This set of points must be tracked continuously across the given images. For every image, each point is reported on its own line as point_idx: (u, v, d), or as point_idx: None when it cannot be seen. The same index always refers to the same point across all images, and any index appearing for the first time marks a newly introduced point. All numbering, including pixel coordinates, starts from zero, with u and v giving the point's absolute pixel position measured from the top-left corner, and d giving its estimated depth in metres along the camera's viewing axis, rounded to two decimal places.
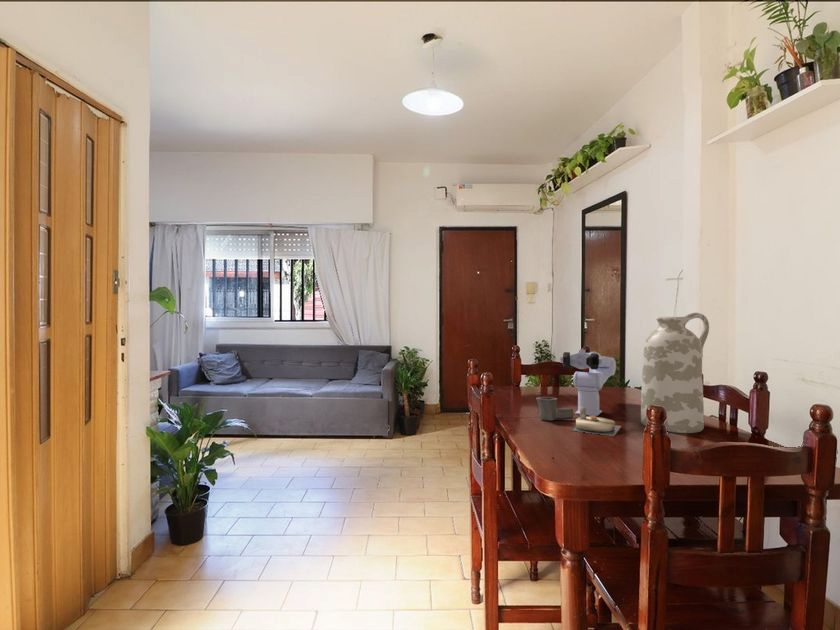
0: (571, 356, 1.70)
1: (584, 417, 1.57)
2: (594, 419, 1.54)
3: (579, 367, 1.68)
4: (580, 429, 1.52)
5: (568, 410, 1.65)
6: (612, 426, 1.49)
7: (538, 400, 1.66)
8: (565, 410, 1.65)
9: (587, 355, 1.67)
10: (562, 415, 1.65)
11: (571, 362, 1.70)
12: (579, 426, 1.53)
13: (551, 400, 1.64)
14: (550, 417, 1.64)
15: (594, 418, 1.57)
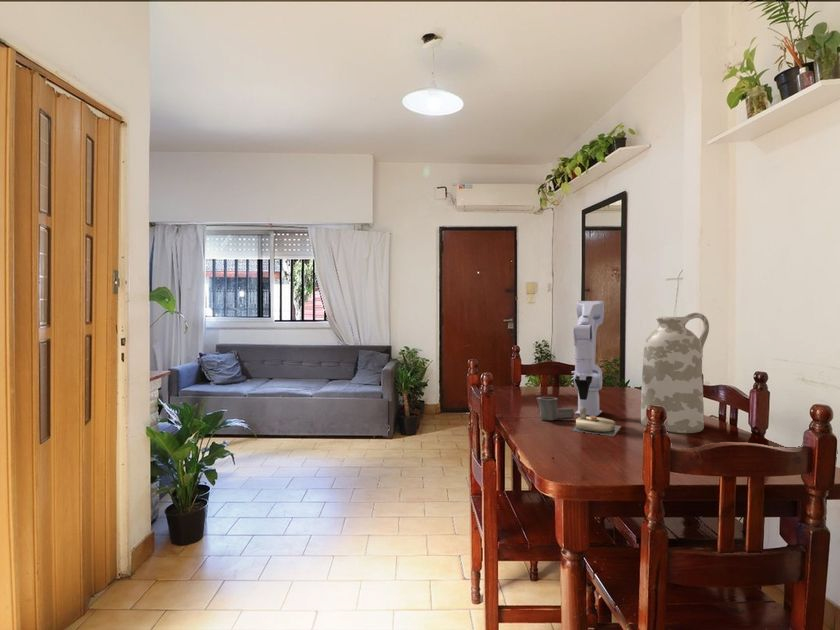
0: None
1: (584, 417, 1.57)
2: (594, 419, 1.54)
3: None
4: (580, 429, 1.52)
5: (568, 410, 1.65)
6: (612, 426, 1.49)
7: (538, 400, 1.66)
8: (565, 410, 1.66)
9: None
10: (563, 415, 1.65)
11: None
12: (579, 426, 1.53)
13: (551, 400, 1.64)
14: (551, 417, 1.64)
15: (594, 418, 1.57)
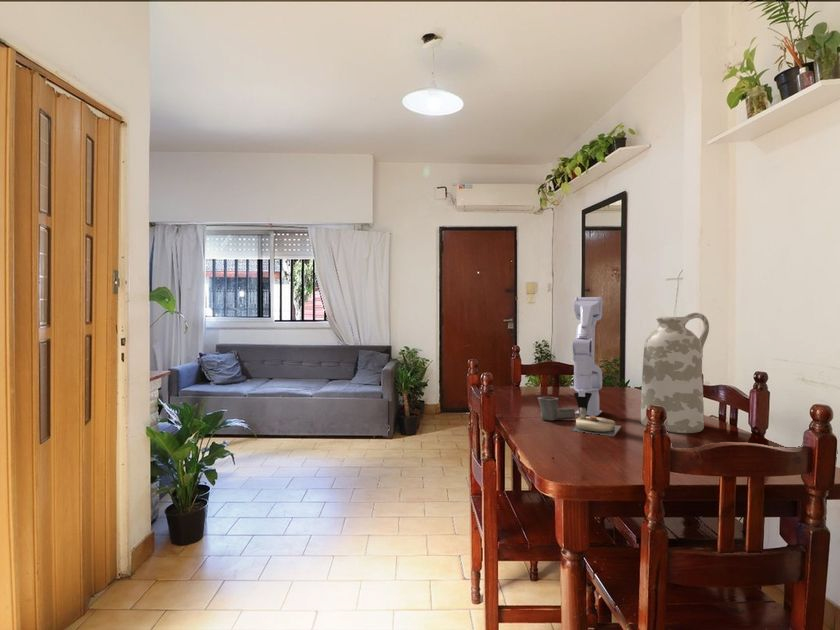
0: None
1: (584, 417, 1.57)
2: (594, 419, 1.54)
3: None
4: (580, 429, 1.52)
5: (569, 410, 1.65)
6: (612, 426, 1.50)
7: (539, 400, 1.66)
8: (566, 410, 1.66)
9: (576, 390, 1.58)
10: (564, 415, 1.65)
11: None
12: (579, 426, 1.53)
13: (552, 400, 1.64)
14: (551, 417, 1.64)
15: (594, 418, 1.57)
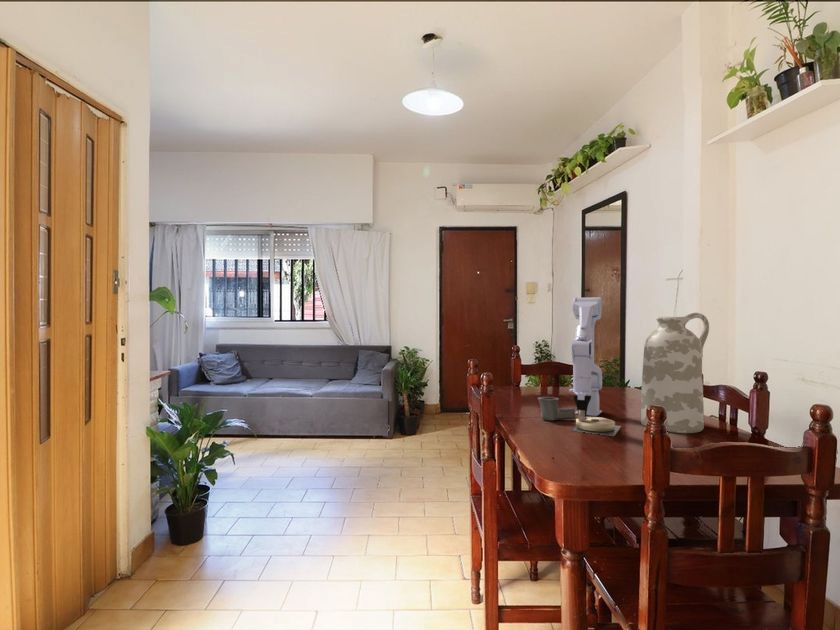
0: None
1: (584, 419, 1.54)
2: (594, 419, 1.54)
3: None
4: (580, 429, 1.52)
5: (570, 410, 1.65)
6: None
7: (540, 400, 1.66)
8: (567, 410, 1.66)
9: None
10: (564, 415, 1.65)
11: None
12: (595, 429, 1.49)
13: (552, 400, 1.64)
14: (552, 417, 1.64)
15: (586, 418, 1.57)
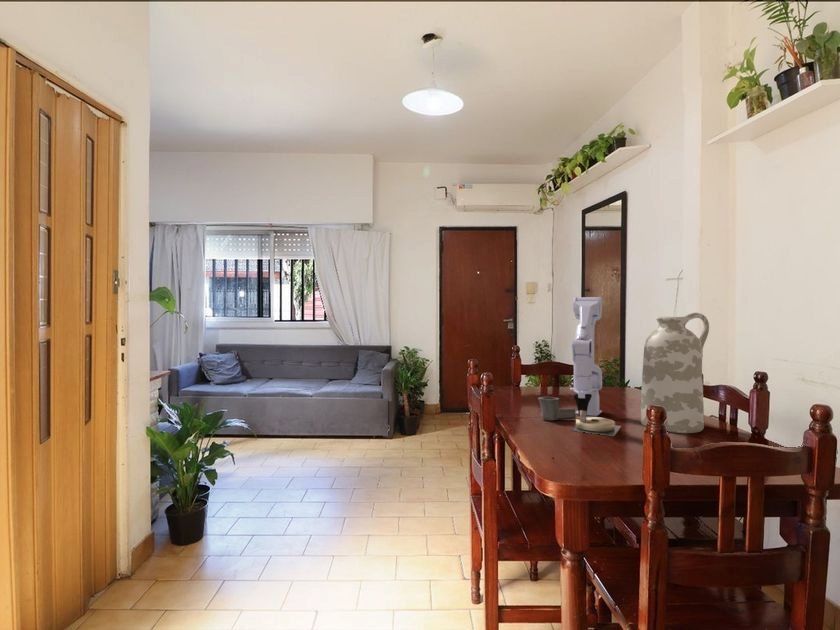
0: None
1: None
2: (594, 419, 1.54)
3: None
4: (580, 429, 1.52)
5: (570, 410, 1.65)
6: None
7: (540, 400, 1.66)
8: (567, 410, 1.66)
9: (576, 391, 1.55)
10: (564, 415, 1.65)
11: None
12: (599, 429, 1.48)
13: (553, 400, 1.64)
14: (552, 417, 1.65)
15: None
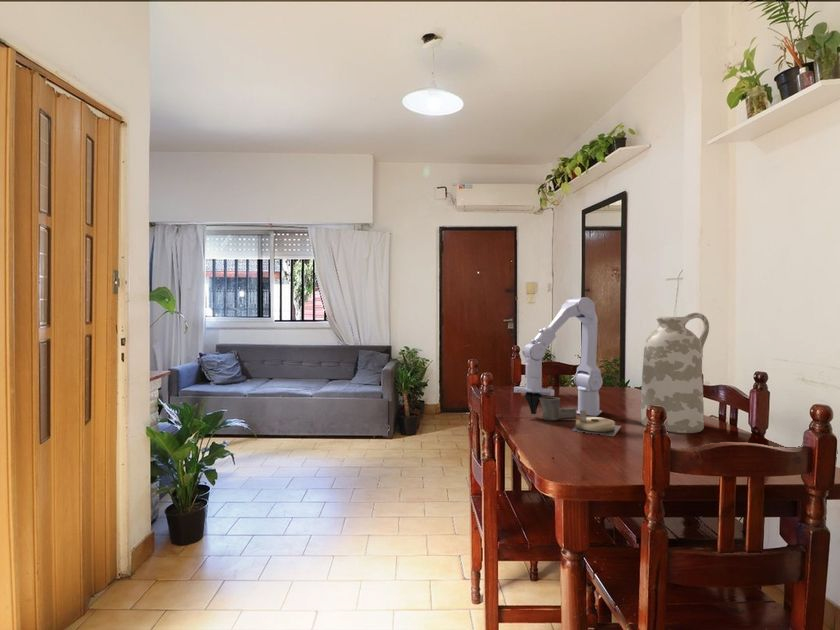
0: None
1: None
2: (594, 419, 1.54)
3: None
4: (580, 429, 1.52)
5: (571, 410, 1.65)
6: None
7: (541, 400, 1.66)
8: (568, 410, 1.66)
9: (537, 391, 1.68)
10: (565, 415, 1.65)
11: None
12: (599, 429, 1.48)
13: (554, 400, 1.64)
14: (553, 417, 1.65)
15: None
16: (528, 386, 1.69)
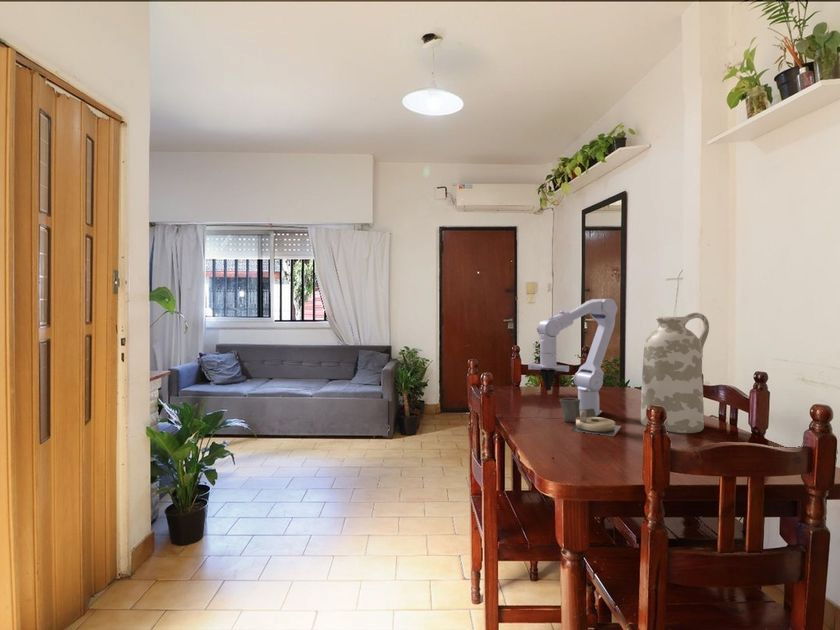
0: (537, 367, 1.71)
1: None
2: (594, 419, 1.54)
3: None
4: (580, 429, 1.52)
5: (590, 410, 1.65)
6: None
7: (562, 402, 1.63)
8: (587, 410, 1.65)
9: None
10: None
11: None
12: (599, 429, 1.48)
13: (576, 401, 1.62)
14: (575, 418, 1.62)
15: None
16: (543, 362, 1.69)
